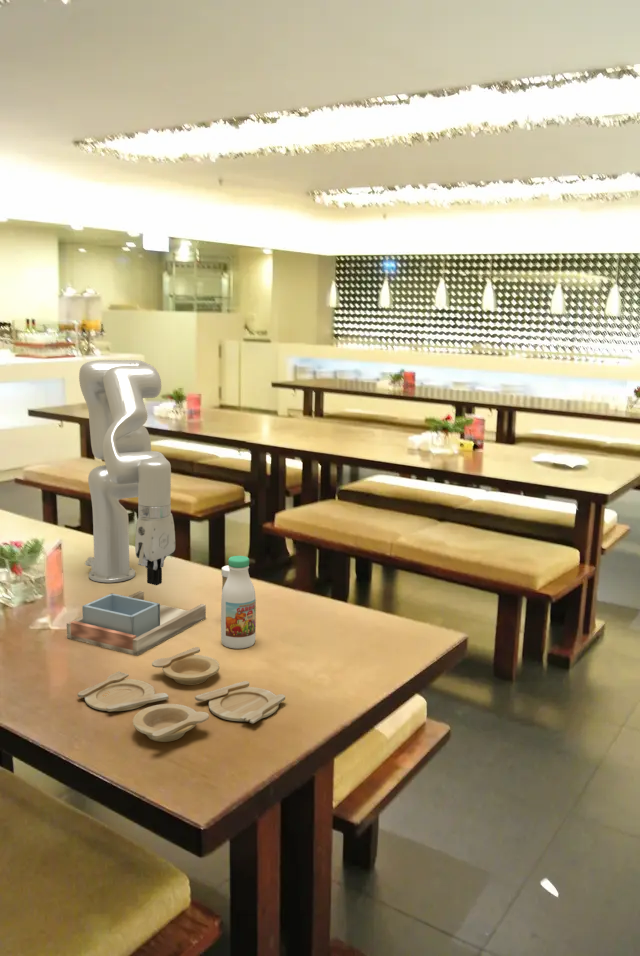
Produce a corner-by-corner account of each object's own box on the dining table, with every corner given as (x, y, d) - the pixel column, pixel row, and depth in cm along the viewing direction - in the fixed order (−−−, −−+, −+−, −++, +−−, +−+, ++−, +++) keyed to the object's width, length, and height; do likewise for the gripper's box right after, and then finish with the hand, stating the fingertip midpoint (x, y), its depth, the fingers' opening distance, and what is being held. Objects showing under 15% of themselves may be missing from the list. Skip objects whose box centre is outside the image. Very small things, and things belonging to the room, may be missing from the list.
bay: (67, 638, 188) (66, 621, 187) (140, 604, 211) (139, 589, 210) (137, 655, 179) (137, 638, 178) (205, 618, 202) (205, 602, 201)
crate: (83, 632, 188) (82, 605, 187) (112, 618, 197) (111, 593, 196) (132, 644, 182) (131, 617, 181) (160, 630, 191) (159, 603, 190)
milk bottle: (214, 645, 186) (214, 559, 182) (233, 634, 193) (233, 551, 189) (243, 652, 183) (244, 565, 179) (261, 640, 189) (262, 556, 185)
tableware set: (299, 712, 157) (299, 692, 156) (169, 768, 136) (168, 745, 136) (190, 655, 181) (190, 638, 180) (66, 696, 161) (65, 676, 160)
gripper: (147, 520, 188) (147, 596, 192) (186, 506, 201) (185, 577, 205) (121, 514, 191) (121, 589, 195) (161, 501, 204) (161, 571, 208)
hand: (154, 583), depth 200 cm, fingers closed
